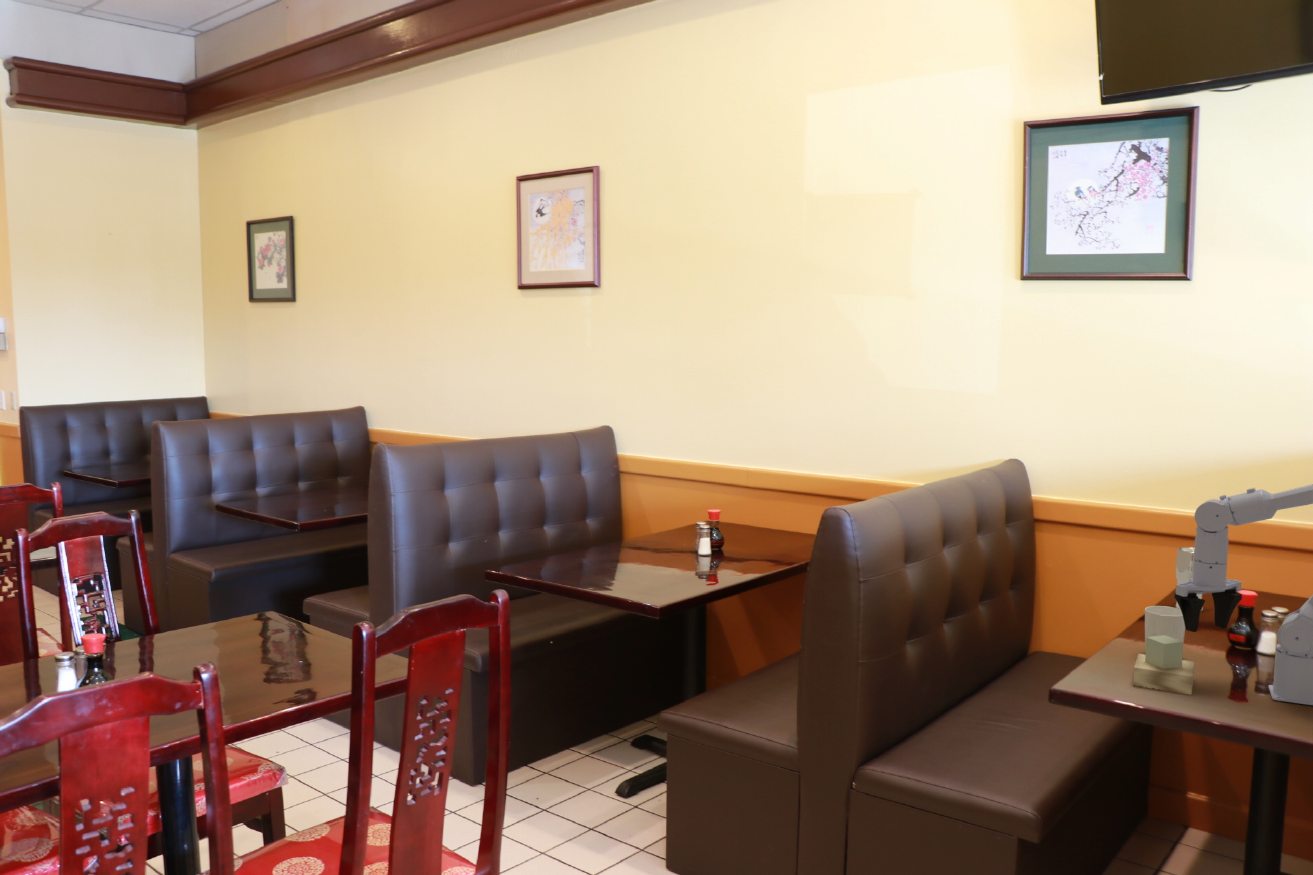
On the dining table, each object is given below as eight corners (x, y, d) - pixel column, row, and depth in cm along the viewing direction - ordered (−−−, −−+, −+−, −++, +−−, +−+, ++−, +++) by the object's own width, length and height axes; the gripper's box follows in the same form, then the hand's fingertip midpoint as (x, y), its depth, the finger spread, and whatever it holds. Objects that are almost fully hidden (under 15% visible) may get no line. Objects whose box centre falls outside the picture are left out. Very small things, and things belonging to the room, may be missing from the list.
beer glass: (1176, 610, 246) (1179, 551, 245) (1170, 603, 253) (1174, 546, 252) (1207, 613, 244) (1211, 553, 243) (1201, 606, 251) (1204, 547, 250)
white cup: (1185, 654, 212) (1187, 608, 211) (1183, 664, 205) (1185, 617, 204) (1144, 648, 216) (1146, 603, 215) (1141, 658, 209) (1143, 612, 208)
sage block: (1163, 659, 197) (1165, 635, 197) (1182, 666, 193) (1183, 641, 192) (1144, 661, 196) (1146, 637, 196) (1162, 668, 192) (1164, 643, 191)
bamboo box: (1193, 681, 197) (1194, 661, 196) (1191, 696, 188) (1192, 676, 188) (1137, 672, 202) (1138, 653, 201) (1133, 687, 193) (1134, 667, 193)
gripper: (1221, 554, 200) (1217, 620, 201) (1164, 559, 195) (1160, 626, 196) (1252, 561, 193) (1247, 629, 194) (1194, 566, 188) (1190, 636, 190)
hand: (1206, 628), depth 195 cm, fingers open, 7 cm apart
